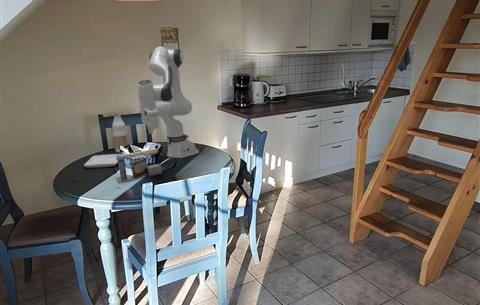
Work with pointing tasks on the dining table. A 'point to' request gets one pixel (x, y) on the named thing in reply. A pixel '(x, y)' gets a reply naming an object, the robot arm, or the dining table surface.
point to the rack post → (123, 173)
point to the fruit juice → (119, 132)
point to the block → (153, 170)
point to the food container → (138, 167)
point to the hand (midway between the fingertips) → (151, 133)
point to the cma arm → (137, 154)
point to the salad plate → (102, 161)
